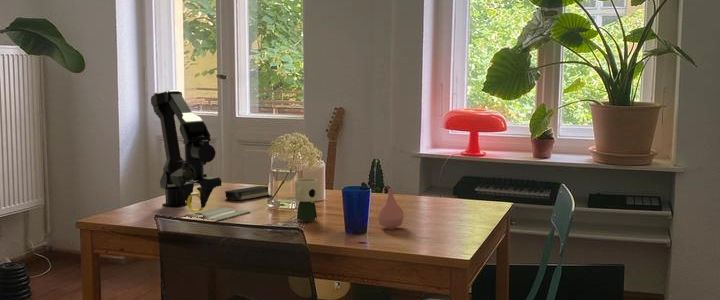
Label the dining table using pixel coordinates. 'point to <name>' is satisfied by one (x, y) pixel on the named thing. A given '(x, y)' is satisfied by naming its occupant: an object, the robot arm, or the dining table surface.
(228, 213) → the subfloor panel
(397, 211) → the pink teardrop shape
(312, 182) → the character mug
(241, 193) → the black sponge
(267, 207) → the dining table surface
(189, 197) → the watch
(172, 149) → the robot arm
